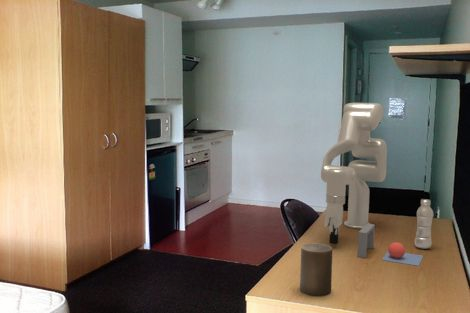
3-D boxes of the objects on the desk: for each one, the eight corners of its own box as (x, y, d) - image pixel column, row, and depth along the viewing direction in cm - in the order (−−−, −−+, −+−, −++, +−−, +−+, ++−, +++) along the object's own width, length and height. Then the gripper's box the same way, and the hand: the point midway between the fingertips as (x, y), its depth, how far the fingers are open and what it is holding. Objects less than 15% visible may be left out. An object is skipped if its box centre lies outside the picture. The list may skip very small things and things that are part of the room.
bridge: (357, 256, 181) (358, 231, 180) (366, 246, 194) (367, 223, 193) (365, 258, 179) (366, 233, 178) (373, 247, 192) (374, 224, 191)
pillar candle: (336, 295, 144) (338, 246, 142) (305, 297, 142) (307, 248, 140) (323, 283, 153) (325, 238, 152) (295, 285, 151) (296, 239, 150)
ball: (402, 238, 181) (409, 253, 180) (388, 244, 184) (395, 258, 183) (397, 242, 176) (404, 257, 175) (383, 247, 180) (390, 262, 178)
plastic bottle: (411, 248, 193) (414, 199, 191) (418, 244, 198) (421, 197, 196) (427, 251, 189) (430, 202, 187) (433, 248, 194) (437, 200, 192)
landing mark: (388, 250, 189) (388, 250, 189) (423, 256, 183) (423, 255, 183) (381, 260, 177) (381, 259, 177) (418, 266, 171) (418, 265, 171)
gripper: (331, 195, 199) (330, 237, 201) (320, 201, 186) (319, 246, 188) (349, 197, 195) (347, 240, 197) (339, 203, 182) (337, 249, 184)
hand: (333, 243), depth 192 cm, fingers closed
